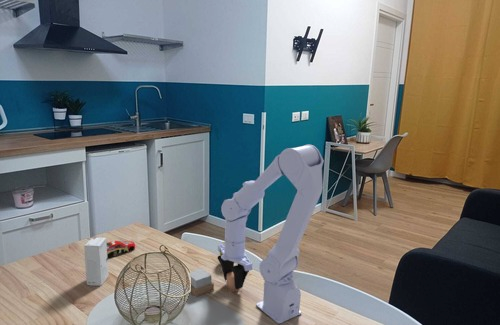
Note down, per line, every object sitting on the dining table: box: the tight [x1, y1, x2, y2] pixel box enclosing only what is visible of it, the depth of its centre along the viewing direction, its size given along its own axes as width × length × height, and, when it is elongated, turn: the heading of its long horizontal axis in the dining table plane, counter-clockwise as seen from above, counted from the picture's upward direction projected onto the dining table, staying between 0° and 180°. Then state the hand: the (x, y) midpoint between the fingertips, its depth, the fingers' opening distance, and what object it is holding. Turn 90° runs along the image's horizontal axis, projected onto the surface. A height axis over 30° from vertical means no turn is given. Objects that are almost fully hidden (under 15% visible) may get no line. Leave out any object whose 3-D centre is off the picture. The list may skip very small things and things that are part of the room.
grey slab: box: [190, 268, 212, 289], centre depth 104 cm, size 5×5×2 cm
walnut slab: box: [190, 281, 215, 298], centre depth 104 cm, size 6×6×2 cm
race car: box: [106, 240, 136, 259], centre depth 124 cm, size 13×5×4 cm, turn 134°
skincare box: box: [83, 237, 109, 287], centre depth 105 cm, size 6×4×12 cm
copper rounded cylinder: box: [225, 272, 241, 292], centre depth 105 cm, size 4×4×4 cm
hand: (233, 283), depth 106 cm, fingers open, 5 cm apart
